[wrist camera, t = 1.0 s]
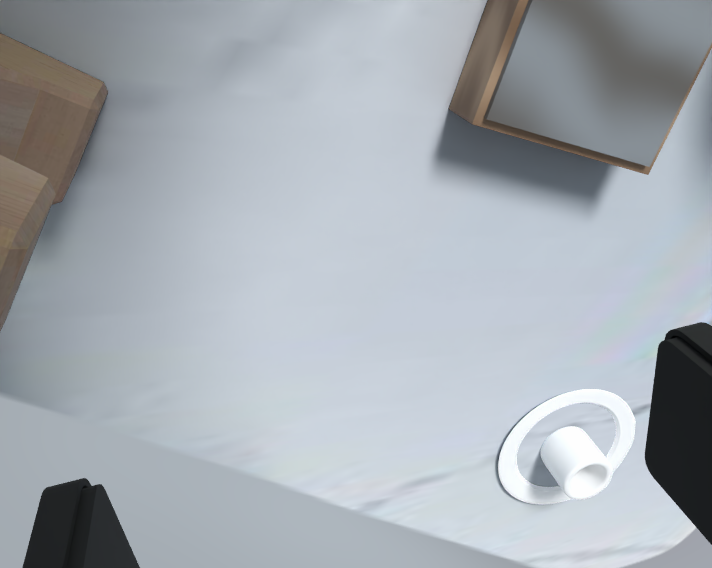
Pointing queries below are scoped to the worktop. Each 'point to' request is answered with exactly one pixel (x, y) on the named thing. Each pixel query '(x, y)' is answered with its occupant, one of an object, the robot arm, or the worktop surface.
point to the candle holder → (568, 451)
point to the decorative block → (37, 148)
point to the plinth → (585, 73)
